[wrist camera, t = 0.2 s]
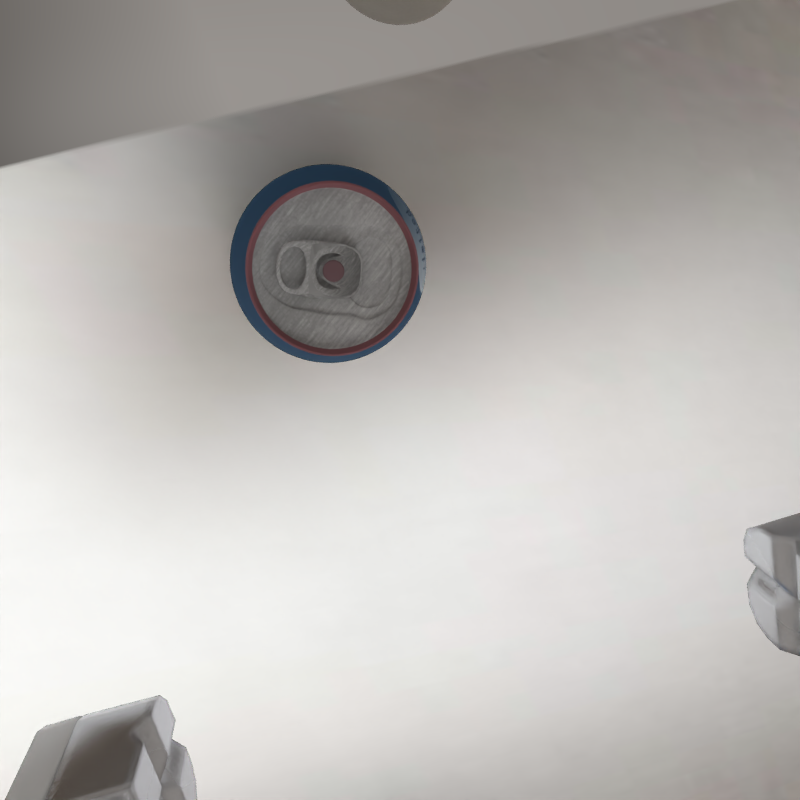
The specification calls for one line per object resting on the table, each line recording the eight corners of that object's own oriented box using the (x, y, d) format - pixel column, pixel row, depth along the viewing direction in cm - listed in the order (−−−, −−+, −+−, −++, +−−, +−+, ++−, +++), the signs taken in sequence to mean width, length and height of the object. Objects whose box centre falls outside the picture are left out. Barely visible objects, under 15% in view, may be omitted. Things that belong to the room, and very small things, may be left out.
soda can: (392, 183, 35) (447, 172, 23) (380, 325, 36) (426, 379, 25) (246, 168, 33) (229, 148, 22) (240, 315, 35) (222, 368, 24)
